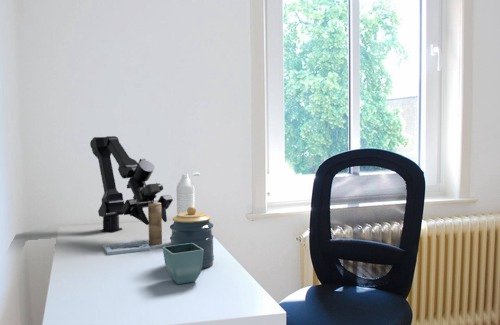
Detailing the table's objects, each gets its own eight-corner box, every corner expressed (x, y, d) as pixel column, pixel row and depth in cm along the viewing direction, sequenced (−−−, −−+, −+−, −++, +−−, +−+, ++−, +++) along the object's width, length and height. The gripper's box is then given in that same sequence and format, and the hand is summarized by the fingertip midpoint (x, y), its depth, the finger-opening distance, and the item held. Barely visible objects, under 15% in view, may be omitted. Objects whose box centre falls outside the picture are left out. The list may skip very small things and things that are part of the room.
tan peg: (153, 241, 172) (152, 202, 171) (164, 242, 171) (163, 202, 170) (146, 244, 168) (145, 204, 167) (157, 245, 166) (156, 204, 165)
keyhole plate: (144, 243, 169) (144, 240, 169) (151, 250, 159) (151, 247, 159) (103, 247, 163) (103, 244, 163) (107, 255, 153) (107, 251, 153)
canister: (175, 272, 133) (174, 211, 132) (166, 261, 145) (165, 204, 144) (219, 267, 138) (218, 208, 137) (207, 257, 150) (206, 202, 149)
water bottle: (179, 244, 167) (178, 174, 166) (175, 240, 173) (174, 173, 172) (203, 242, 170) (202, 173, 169) (198, 238, 176) (197, 172, 175)
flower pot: (172, 288, 120) (172, 253, 119) (162, 279, 127) (162, 246, 127) (205, 283, 124) (204, 249, 123) (193, 274, 132) (192, 242, 131)
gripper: (124, 177, 164) (142, 212, 157) (169, 173, 177) (187, 205, 170) (114, 197, 170) (130, 232, 163) (158, 192, 183) (175, 224, 176)
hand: (157, 222), depth 168 cm, fingers open, 7 cm apart
